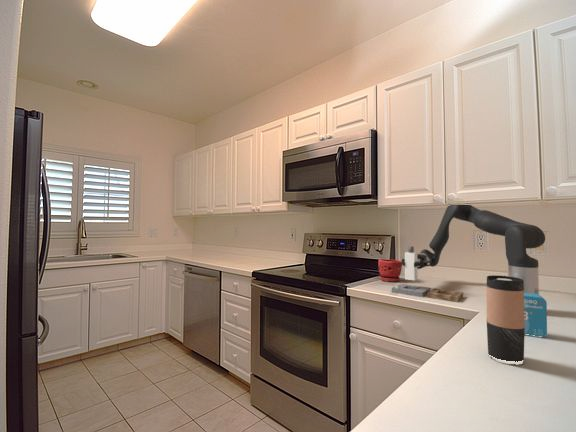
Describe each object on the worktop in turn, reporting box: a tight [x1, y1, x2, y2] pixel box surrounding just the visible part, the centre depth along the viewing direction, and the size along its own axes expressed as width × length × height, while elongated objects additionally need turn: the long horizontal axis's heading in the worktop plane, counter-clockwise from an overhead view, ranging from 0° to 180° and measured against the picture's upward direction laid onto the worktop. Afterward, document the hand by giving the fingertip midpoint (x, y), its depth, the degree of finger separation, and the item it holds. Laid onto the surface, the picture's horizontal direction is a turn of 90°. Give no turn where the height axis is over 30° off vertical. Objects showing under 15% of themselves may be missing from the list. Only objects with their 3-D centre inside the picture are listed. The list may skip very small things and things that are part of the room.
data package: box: [524, 293, 548, 338], centre depth 91 cm, size 12×4×12 cm, turn 60°
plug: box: [404, 245, 418, 281], centre depth 144 cm, size 4×4×16 cm
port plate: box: [391, 283, 432, 298], centre depth 144 cm, size 14×14×3 cm
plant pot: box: [377, 258, 403, 283], centre depth 173 cm, size 13×13×12 cm
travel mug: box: [486, 274, 526, 362], centre depth 74 cm, size 8×8×20 cm
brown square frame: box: [426, 288, 464, 303], centre depth 134 cm, size 12×12×2 cm
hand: (409, 264), depth 142 cm, fingers closed on plug, 4 cm apart
